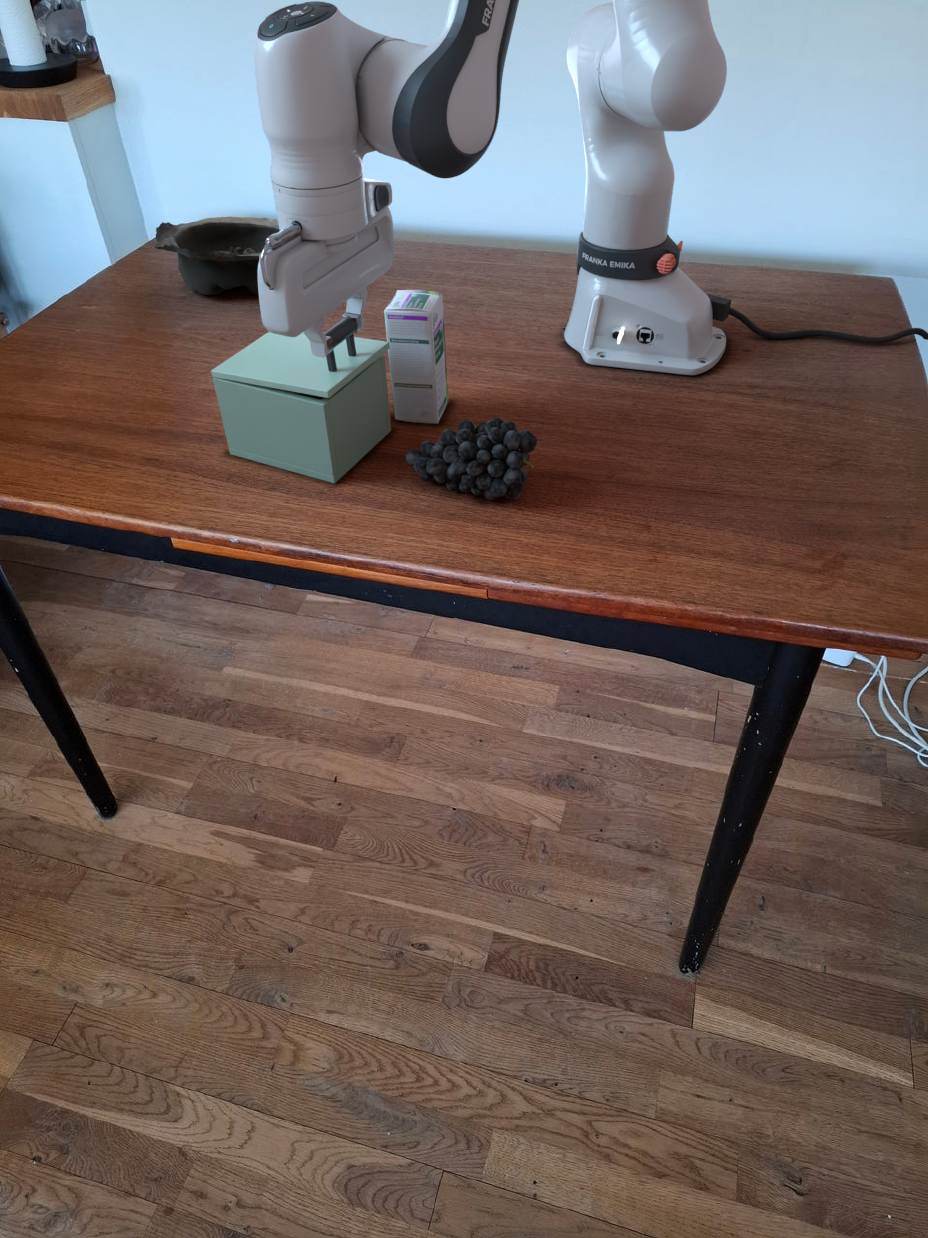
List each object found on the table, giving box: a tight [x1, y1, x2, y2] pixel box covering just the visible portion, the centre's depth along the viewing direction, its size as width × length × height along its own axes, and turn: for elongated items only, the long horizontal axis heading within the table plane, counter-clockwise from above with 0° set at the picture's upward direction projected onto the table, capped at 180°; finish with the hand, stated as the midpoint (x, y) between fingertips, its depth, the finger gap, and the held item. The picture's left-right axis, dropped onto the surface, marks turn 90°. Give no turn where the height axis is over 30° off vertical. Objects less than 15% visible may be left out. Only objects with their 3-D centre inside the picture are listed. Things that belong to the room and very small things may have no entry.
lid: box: [210, 317, 390, 398], centre depth 98 cm, size 16×13×5 cm
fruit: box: [405, 416, 538, 501], centre depth 97 cm, size 9×8×15 cm
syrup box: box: [383, 289, 449, 425], centre depth 107 cm, size 6×6×14 cm
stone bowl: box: [153, 216, 280, 296], centre depth 142 cm, size 25×25×9 cm
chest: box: [212, 354, 392, 484], centre depth 104 cm, size 15×13×10 cm
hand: (339, 341), depth 96 cm, fingers closed on lid, 5 cm apart
